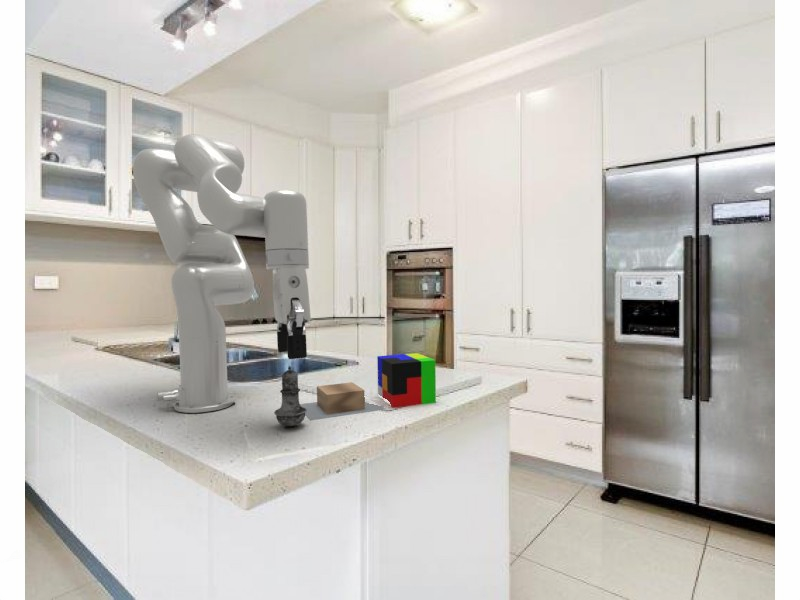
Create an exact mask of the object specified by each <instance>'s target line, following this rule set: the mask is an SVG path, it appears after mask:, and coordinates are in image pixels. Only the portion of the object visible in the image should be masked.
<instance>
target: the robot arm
mask: <svg viewBox="0 0 800 600" xmlns="http://www.w3.org/2000/svg"><path fill="white" fill-rule="evenodd" d="M244 170H245V158H244V155H243V152H241V150H240V149H239V148H238V147H237V145H235V144H234V143H231V142H229V141H228V142H227V141H224V140H219V139H217V138H212V137H208V136H205V135H200V134H192V133H191V134H185V135H183V136H180V138H178V139H177V140H176V142H175V144H174V145H173V150H171V149H165V148H155V147H154V148H152V147H151V148H147V149H146V148H145V149H142V150H141V151H139V152H138V153H137V154H136V156H135V157H134V160H133V165H132V172H133V173H132V175H133V182H134V186H135V188H136V191H137V193H138V195H139V197H140V199H141V201H142V203H143V204H144V206H145V207H146V209H147V210H148V211H149V213H150V215H151V217H152V219H153V222H154V224H155V227H156V230H157V232H158V234H159V237H160V240H161V242H162V246H163V248H164V250H165V253H166V255H167V257H168V258H169V260H170V261H171V262H172V263H174V264H176V265H180V266H179V267H178V268H177V269H175V270H174V272H173V273H172V277H171V289H172V295H173V298H174V301H175V307H176V313H177V315H176V316H177V324H178V325H177V326H178V344H179V345H178V347H179V349H178V351H179V376H180V384H179V387H177V388H174V390H162V391H158V392H157V401H163V402H170V401H174V403H173V409H174V411H176V412H179V413H187V414H195V413H197V414H198V413H200V414H201V413H209V412H214V411H219V410H222V409H226V408H228V407H230V406H233V405H234V404H235V401H236V396H235V395H233V394H231V393H229V392H228V390H229V389H228V388H229V387H228V364H227V363H228V362H227V361H228V360H227V359H228V358H227V332H226V331H227V329H226V328H227V327H226V323H225V321H224V319H223V317H222V315H221V314H220V312H219V311H218V309H217V308H216V306H227V305H237V304H243V303H246V302H248V301H249V300H250V299H251V298H252V296H253V294H254V290H255V283H254V277H253V274H252V271H251V269H250V266H249V264H248V262H247V260H246V257H245V255H244V253H243V252H244V251H242V248H241V246H240V243H239V240H238V239H237V237H236V236H243V237H245V236H247V237H255V238H265V239H264V240H265V241H264V244H265V265H266V267H265V268H266V270H270V271H272V295H273V296H272V297H273V311H274V312H273V314H274V319H275V321H276V322H277V324H276V326H277V327H276V329H277V331H276V335H277V336H276V339H277V341H276V343H277V351H278V353H286V352H287V358H288V360H295V359H305V358H307V356H308V353H307V351H308V350H307V335H306V334H307V333H306V326H305V325H306V324H308V323H309V322H310V321H311V307H310V295H309V294H310V293H309V284H308V277H307V270H308V269H310V260H309V239H308V213H307V200H306V197H305V196H304V195H303V193H301V192H298V191H294V190H286V189H285V190H284V189H283V190H273V191H270V192H268V193H266V194H265V196H264V197H261V196H256V195H250V194H244V193H238V191H239V189H240V188H241V185H242V182H243V176H242V175H243V173H244ZM175 190H180V191H186V192H193V193H196V196H197V203H198V207H199V210H200V212H201V213H202V215H203V216H204V217H205V218H206V219H207V221H209V223H210V224H211V225H208V224H207V225H206V224H202V223H200V222H199V221H198V220H197V218H196V216H195V214H194V211H193V209H192V207H191V205H190V204H189V203H188V202H187V201H186V200H185V199H184V197H182V196H181V195H180V194H178V193H177V191H175ZM306 269H307V270H306Z"/></svg>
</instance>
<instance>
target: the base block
mask: <svg viewBox="0 0 800 600" xmlns="http://www.w3.org/2000/svg"><path fill="white" fill-rule="evenodd" d="M364 396H365V389H363V388H362V387H360V386H359V385H357V384H355V383H354V382H353V381H352V382H342V383H335V384H334V383H333V384H326V385H317V386H316V402H317V405H318V406H319V407H320V408H321V409H322V410H323V411H324V412H325V413H326V414H327V415H328V414H335V413H342V412H349V411H356V410H363V409H365V397H364Z"/></svg>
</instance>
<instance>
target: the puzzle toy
mask: <svg viewBox="0 0 800 600" xmlns="http://www.w3.org/2000/svg"><path fill="white" fill-rule="evenodd" d="M376 358H377V362H376V363H377V395H378V394H379V395H380V396H382V397H383V398H385V399H387V400H388V401H389V402H390V404H391V406H390V408H392V409H395V408H402V407H410V406H417V405H418V406H419V405H420V406H421V405H427V404H435V403H437V402H436V399H437V398H436V397H437V394H436V390H437V389H436V386H437V385H436V383H437V382H436V377H437V376H436V359H433V358H431V357H428V356H426V355H424V354H420V353H418V352H417V353H416V352H415V353H404V354H403V353H400V354H388V355H377V357H376Z"/></svg>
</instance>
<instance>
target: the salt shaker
mask: <svg viewBox="0 0 800 600" xmlns="http://www.w3.org/2000/svg"><path fill="white" fill-rule="evenodd" d="M298 376H299V375H298V372H297V371H295V370H293V369H292V366H291V365H288V367H287V370H286V371H284V372H283V373H282V375H281V387H282V388H281V390H279V393H280V394H281V406H280V407H279V408H277V409H276V410H274V412H273V413H274V415H275V416H276V417H275V418H276V421H277V422H278V423H279V424H280V425H281V426H283V427H284V428H285V429H287V430H288V429H289V430H291V429H296V428H298V425H300V424H301V423H302V422H303V421H304V420H305V418H306V415H305V413H306V411H307V409H306V408H304V407H301V406H300V404H301V403H300V398H299V397H300V395H299V394H300V393H299V392H300V391H301V389H300V388H299V377H298Z"/></svg>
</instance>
